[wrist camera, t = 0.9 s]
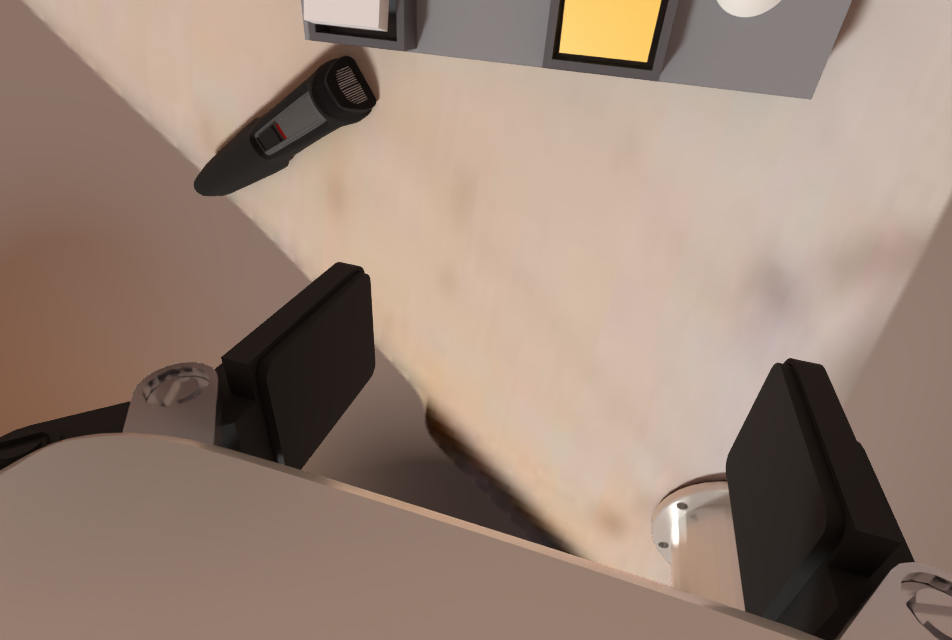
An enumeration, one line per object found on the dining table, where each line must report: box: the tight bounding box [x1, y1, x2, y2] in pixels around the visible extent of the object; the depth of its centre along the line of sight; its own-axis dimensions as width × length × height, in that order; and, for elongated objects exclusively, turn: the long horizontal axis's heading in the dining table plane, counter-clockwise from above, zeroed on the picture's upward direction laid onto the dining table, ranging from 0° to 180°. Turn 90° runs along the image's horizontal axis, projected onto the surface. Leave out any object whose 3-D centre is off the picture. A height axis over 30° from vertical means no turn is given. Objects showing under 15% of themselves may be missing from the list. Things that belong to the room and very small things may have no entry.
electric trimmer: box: [194, 56, 376, 196], centre depth 34 cm, size 4×16×3 cm, turn 119°
